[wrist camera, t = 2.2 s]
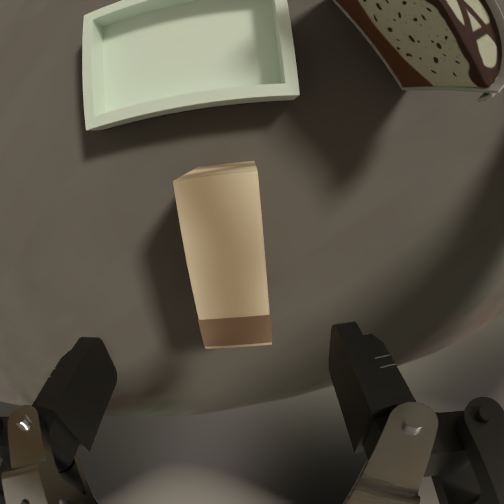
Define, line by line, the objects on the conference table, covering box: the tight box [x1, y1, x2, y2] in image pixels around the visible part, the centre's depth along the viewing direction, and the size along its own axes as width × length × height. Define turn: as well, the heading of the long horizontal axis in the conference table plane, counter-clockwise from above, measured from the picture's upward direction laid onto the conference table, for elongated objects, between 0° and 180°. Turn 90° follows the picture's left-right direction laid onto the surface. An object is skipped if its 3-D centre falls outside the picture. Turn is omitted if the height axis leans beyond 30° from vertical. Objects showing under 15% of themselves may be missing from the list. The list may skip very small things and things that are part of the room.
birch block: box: [173, 161, 272, 349], centre depth 18 cm, size 4×10×7 cm, turn 5°
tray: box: [82, 0, 300, 130], centre depth 15 cm, size 14×10×2 cm
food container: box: [332, 0, 504, 102], centre depth 10 cm, size 12×6×10 cm, turn 38°
